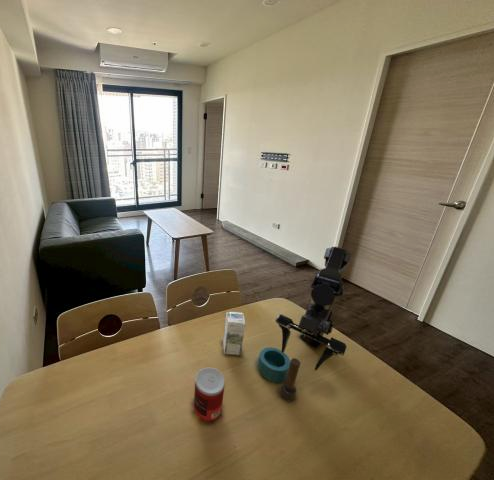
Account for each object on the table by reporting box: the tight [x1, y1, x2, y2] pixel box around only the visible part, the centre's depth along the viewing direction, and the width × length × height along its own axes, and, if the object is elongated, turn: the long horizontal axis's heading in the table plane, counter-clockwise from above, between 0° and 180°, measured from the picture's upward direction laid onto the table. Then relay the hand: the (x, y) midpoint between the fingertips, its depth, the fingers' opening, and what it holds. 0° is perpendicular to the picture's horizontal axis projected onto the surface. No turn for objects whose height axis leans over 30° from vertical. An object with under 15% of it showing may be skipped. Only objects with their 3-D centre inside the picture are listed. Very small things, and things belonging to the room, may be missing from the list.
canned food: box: [193, 367, 226, 422], centre depth 68 cm, size 8×8×11 cm
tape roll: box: [257, 346, 291, 383], centre depth 81 cm, size 9×9×5 cm
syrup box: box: [222, 311, 247, 356], centre depth 87 cm, size 6×6×14 cm
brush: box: [279, 357, 301, 402], centre depth 72 cm, size 4×4×13 cm
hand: (298, 361), depth 73 cm, fingers open, 9 cm apart
